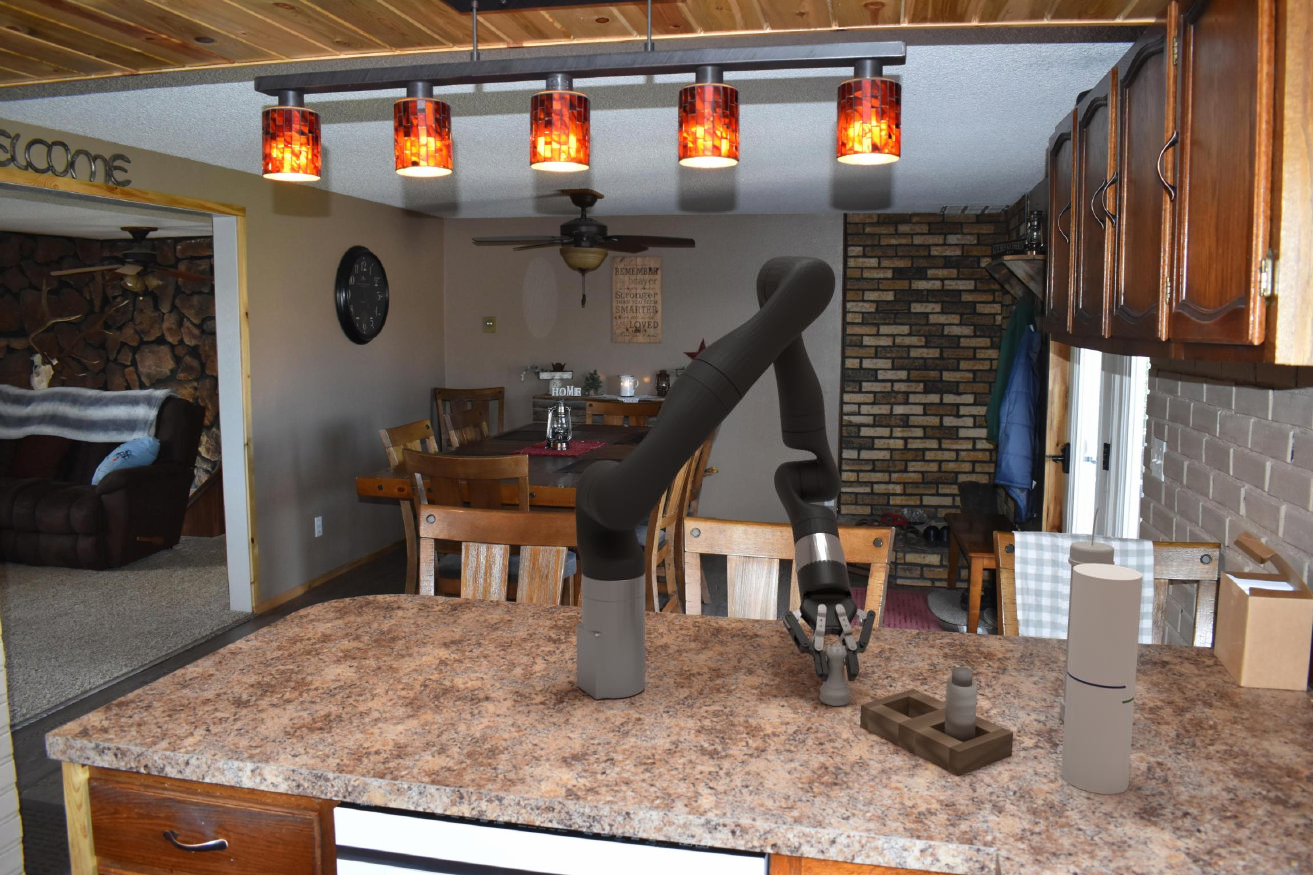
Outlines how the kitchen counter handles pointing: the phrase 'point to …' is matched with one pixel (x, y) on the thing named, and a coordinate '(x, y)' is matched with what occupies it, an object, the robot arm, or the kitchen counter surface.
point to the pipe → (1078, 555)
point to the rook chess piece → (835, 678)
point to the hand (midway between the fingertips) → (838, 678)
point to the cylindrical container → (1101, 677)
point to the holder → (940, 726)
